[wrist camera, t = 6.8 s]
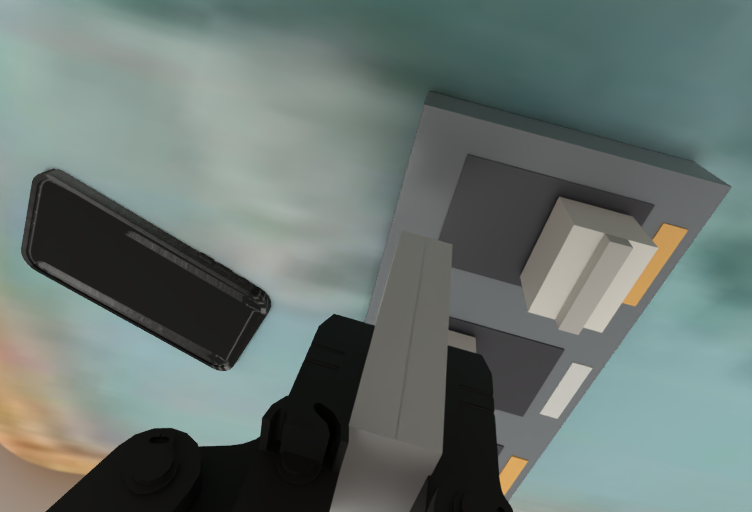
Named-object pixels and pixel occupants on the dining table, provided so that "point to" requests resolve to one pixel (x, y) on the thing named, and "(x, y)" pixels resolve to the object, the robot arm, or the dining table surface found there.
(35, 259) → the phone
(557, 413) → the switch board
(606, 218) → the switch tab
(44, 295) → the dining table surface
